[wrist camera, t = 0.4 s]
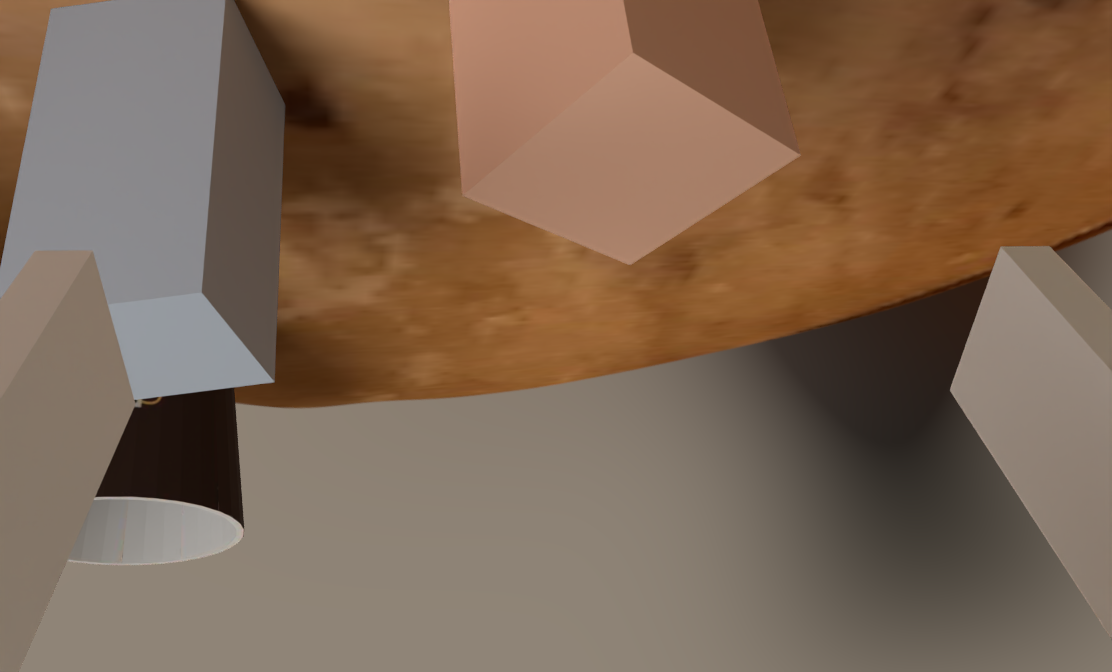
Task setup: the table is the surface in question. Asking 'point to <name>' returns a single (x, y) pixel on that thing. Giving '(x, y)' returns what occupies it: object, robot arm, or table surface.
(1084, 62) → the table surface
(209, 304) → the slate block
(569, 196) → the terracotta block
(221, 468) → the coffee mug
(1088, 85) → the table surface
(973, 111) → the table surface
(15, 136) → the table surface
